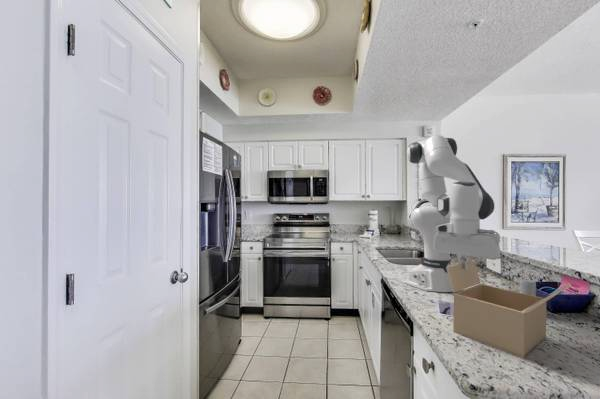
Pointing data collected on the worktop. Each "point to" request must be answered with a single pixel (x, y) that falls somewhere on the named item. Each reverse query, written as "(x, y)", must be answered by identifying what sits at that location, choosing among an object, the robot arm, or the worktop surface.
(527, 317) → the carton
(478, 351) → the worktop surface
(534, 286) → the beverage can
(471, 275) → the flap
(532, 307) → the flap
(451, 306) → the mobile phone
